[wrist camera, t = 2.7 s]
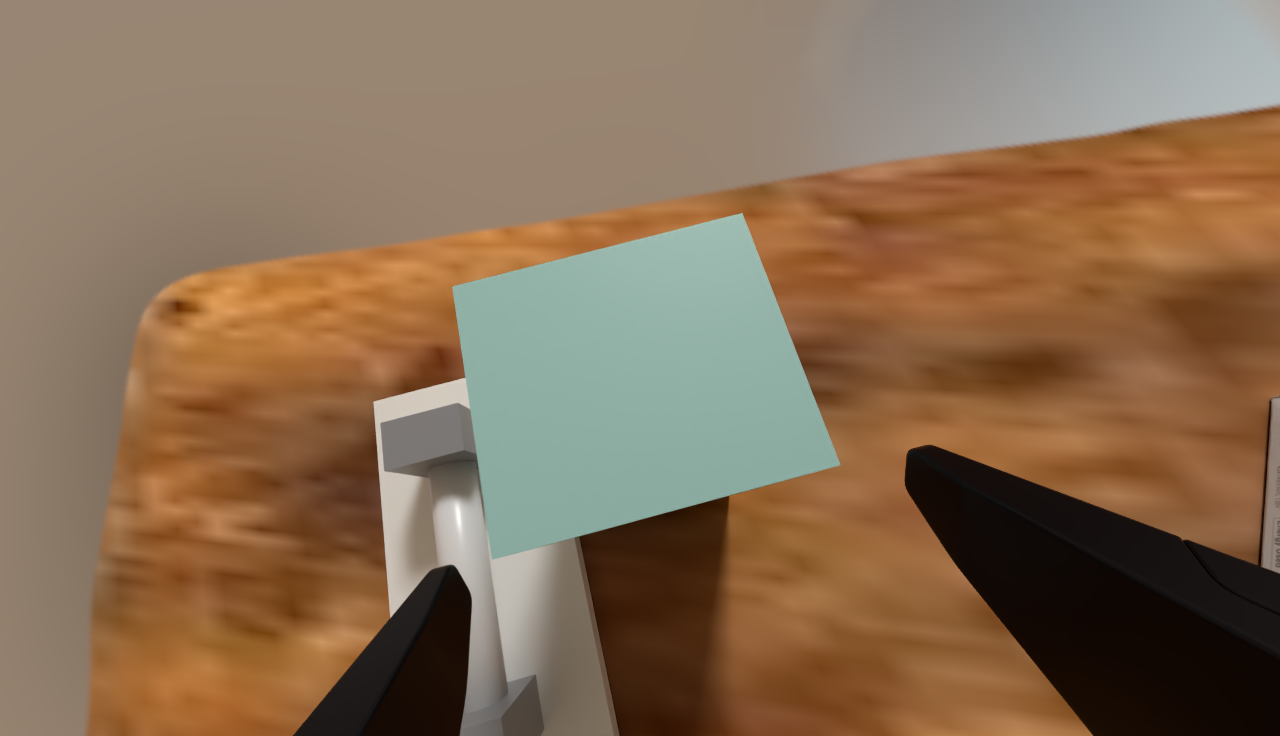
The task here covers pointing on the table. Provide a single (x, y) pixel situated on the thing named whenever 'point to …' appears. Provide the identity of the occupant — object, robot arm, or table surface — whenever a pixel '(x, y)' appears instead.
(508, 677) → the shaft bracket
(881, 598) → the table surface
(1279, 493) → the light bulb box
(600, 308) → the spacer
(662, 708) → the table surface
